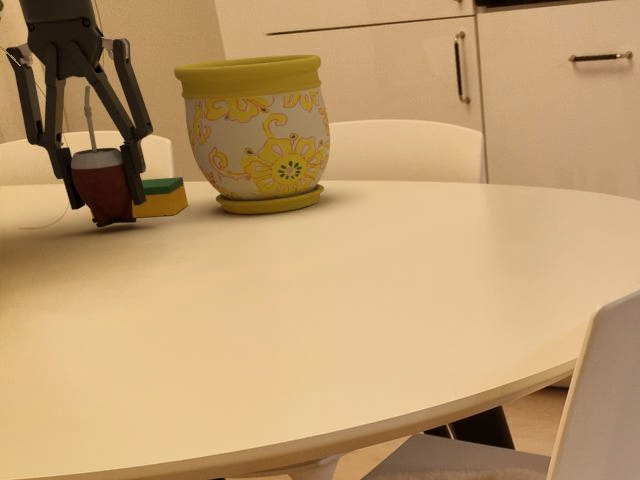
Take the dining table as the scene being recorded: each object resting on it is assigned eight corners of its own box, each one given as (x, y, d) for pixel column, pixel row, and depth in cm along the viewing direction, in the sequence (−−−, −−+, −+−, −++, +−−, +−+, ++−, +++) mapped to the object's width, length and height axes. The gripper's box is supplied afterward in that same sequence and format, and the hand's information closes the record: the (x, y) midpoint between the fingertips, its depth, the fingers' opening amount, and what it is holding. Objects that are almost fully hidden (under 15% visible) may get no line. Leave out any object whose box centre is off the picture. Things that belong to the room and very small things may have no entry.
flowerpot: (367, 195, 127) (350, 52, 118) (270, 223, 115) (242, 66, 106) (274, 189, 136) (251, 56, 127) (175, 214, 125) (142, 69, 115)
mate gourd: (109, 216, 122) (73, 82, 113) (160, 216, 119) (127, 79, 111) (71, 229, 116) (30, 88, 107) (124, 229, 114) (87, 85, 105)
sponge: (93, 220, 125) (85, 191, 123) (110, 210, 130) (102, 182, 128) (175, 214, 124) (168, 185, 122) (188, 204, 130) (182, 177, 128)
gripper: (149, -27, 106) (196, 194, 119) (-25, -14, 107) (41, 205, 120) (128, -28, 100) (181, 205, 113) (-55, -14, 101) (18, 216, 114)
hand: (109, 205), depth 117 cm, fingers closed on mate gourd, 7 cm apart
